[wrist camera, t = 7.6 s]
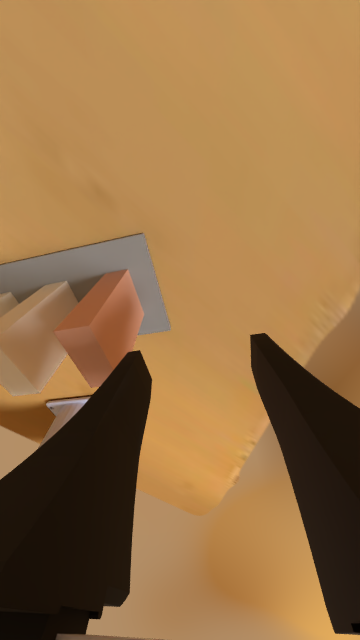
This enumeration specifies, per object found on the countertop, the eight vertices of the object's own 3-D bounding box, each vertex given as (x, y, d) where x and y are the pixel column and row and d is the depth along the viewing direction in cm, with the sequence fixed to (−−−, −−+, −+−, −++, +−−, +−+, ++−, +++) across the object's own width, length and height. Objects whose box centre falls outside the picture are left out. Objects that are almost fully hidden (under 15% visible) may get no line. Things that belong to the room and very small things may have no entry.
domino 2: (144, 314, 19) (121, 384, 13) (124, 317, 20) (90, 387, 13) (128, 269, 17) (89, 325, 10) (105, 273, 17) (53, 331, 11)
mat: (170, 328, 21) (170, 330, 20) (-54, 362, 24) (-58, 364, 24) (143, 232, 16) (142, 233, 15) (-132, 293, 20) (-137, 295, 19)
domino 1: (89, 322, 20) (40, 393, 13) (70, 325, 20) (13, 396, 14) (66, 280, 18) (-7, 340, 11) (45, 284, 18) (-39, 345, 11)
